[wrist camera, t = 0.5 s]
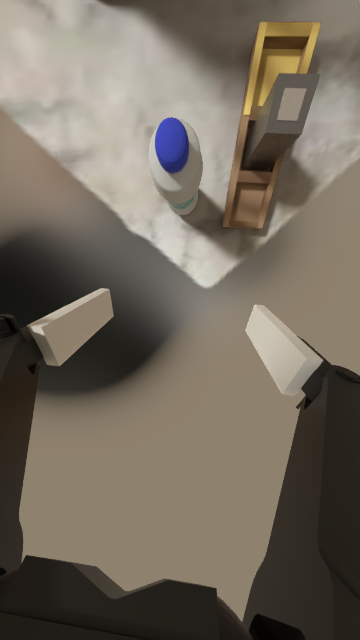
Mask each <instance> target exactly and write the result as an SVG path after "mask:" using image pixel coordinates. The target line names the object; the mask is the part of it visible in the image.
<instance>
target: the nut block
mask: <svg viewBox="0 0 360 640" xmlns="http://www.w3.org/2000/svg"><path fill="white" fill-rule="evenodd" d="M319 77H320V74H298V73H279V74H278V76H277V78H276V80H275V82H274V84H273V86H272V88H271V90H270V92H269V94H268V96H267V98H266V100H265V102H264V104H263V106H262V108H261V110H260V112H259V114H258V116H257V118H256V120H255V122H254V124H253V126H252V128H251V130H250V132H249V135H248V140H247V145H246V151H245V156H244V161H243V166H242V169H251V170H267V169H268V168H269V167H270V166H271V165H272V164H273V163H274V162H275V161H276V160H277V159H278V158H279V157H280V156H281V155H282V154H283V153H284V152H285V151H286V150H287V148H288V147H289V146H290V145H291V144H292V143H293V142H294V141H295V140H296V139H297V138H298V137H299V136H300V135H301V134H302V131H303V128H304V125H305V121H306V118H307V115H308V112H309V109H310V105H311V102H312V99H313V96H314V93H315V89H316V86H317V83H318V80H319Z"/></svg>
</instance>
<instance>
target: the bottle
mask: <svg viewBox="0 0 360 640" xmlns="http://www.w3.org/2000/svg"><path fill="white" fill-rule="evenodd" d="M148 158H149V166H150V170H151V174H152V178H153V182H154V185H155V187H156V189H157V191H158V192H159V193H160V195H161V196H162V197H163V198H164V199H165V200H167V202H168V204H169V206H170V208H171V209H172V211H173V212H175V213H176V214H178V215H187V214H189V213H190V212H191V211H192V210H193V209H194V208H195V206H196V204H197V201H198V187H199V184H200V181H201V177H202V169H203V163H202V156H201V152H200V146H199V141H198V138H197V136H196V133H195V132H194V130H193V128H192V127H191V126H190V125H189V124H188V123H187V122H185V121H184V120H182V119H178V118H172V117H171V118H167V119H165V120H163V121H162V122H161V123H160V125H159V126H158V127H157V128H156V130H155V132H154V133H153V136H152V138H151V141H150V145H149V154H148Z"/></svg>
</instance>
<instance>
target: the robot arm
mask: <svg viewBox="0 0 360 640" xmlns="http://www.w3.org/2000/svg"><path fill="white" fill-rule="evenodd" d="M112 317H113V309H112V303H111V297H110V291H109V289H103V288H101V289H99V290H97V291H95V292H93V293H91V294H89V295H87V296H85V297H83V298H81V299H79V300H77V301H75V302H73V303H71V304H69V305H67V306H65V307H63V308H61V309H59V310H57V311H55V312H53V313H51V314H49V315H47V316H45V317H43V318H41V319H39V320H37V321H35V322H33V323H31V324H29V325H27V327H25V328H23V329H21V330H20V329H19V327H18V325H17V323H16V321H15V319H14V318H13V316H12V315H6V314H4V315H0V640H360V376H359V375H358V374H356V373H354V372H353V371H350V370H349V369H346V368H344V367H341V366H336V365H331V364H330V363H329V362H328V361H327V360H326V359H325V358H323V357H322V356H321V355H320V354H319V353H318V352H317V351H315V349H313V348H312V347H311V346H310V345H309V344H308V343H307V342H306V341H304V340H303V339H301V338H300V337H298V336H296V335H295V334H294V333H293V332H292V331H291V330H290V329H289V328H288V327H286V326H285V325H284V324H283V323H282V322H281V321H280V320H279V319H278V318H277V317H276V316H274V315H273V314H272V313H271V312H270V311H269V310H268V309H267V308H266V307H265V306H263V305H254V308H253V311H252V313H251V316H250V319H249V322H248V324H247V327H246V330H245V331H246V333H247V334H248V336H249V338H250V340H251V341H252V343H253V345H254V347H255V348H256V350H257V352H258V354H259V355H260V357H261V359H262V360H263V362H264V364H265V366H266V367H267V369H268V371H269V373H270V374H271V376H272V378H273V379H274V381H275V383H276V385H277V386H278V388H279V390H280V392H281V393H282V394H284V395H292V396H296V395H297V394H298V392H299V391H300V390H301V389H302V390H303V392H304V393H305V394H306V396H305V397H304V398H303V399H302V401H301V402H300V403H299V404H298V405H297V407H296V408H297V409H299V407H301V408H300V412H299V416H298V421H297V425H296V429H295V434H294V438H293V442H292V446H291V451H290V455H289V459H288V464H287V468H286V472H285V476H284V480H283V485H282V489H281V493H280V497H279V502H278V506H277V510H276V515H275V519H274V523H273V527H272V532H271V536H270V540H269V545H268V549H267V552H266V556H265V558H264V561H263V562H262V564H261V566H260V567H259V569H258V571H257V573H256V575H255V578H254V580H253V584H252V587H251V590H250V594H249V598H248V603H247V606H246V610H245V614H244V618H243V622H241V621H240V619H239V618H238V617H237V615H236V614H235V613H234V612H233V611H232V610H231V609H230V608H229V606H227V605H226V603H225V602H224V601H223V600H221V599H220V598H219V597H218V596H217V591H216V588H212V587H207V586H203V585H199V584H193V583H187V582H181V581H176V580H170V579H162V580H159V581H157V582H154V583H151V584H148V585H146V586H143V587H140V588H138V589H135V590H132V591H124V590H123V589H122V588H121V587H119V586H118V585H117V584H116V583H115V582H114V581H112V580H111V579H110V578H109V577H108V576H107V575H106V574H104V573H103V572H102V571H101V570H100V569H99V568H97V567H95V566H90V565H84V564H78V563H72V562H66V561H61V560H54V559H48V558H40V557H34V556H28V555H26V556H25V558H24V560H23V562H22V564H21V561H22V552H23V532H22V528H21V525H20V521H19V507H20V500H21V493H22V486H23V479H24V473H25V466H26V459H27V452H28V445H29V438H30V431H31V424H32V418H33V410H34V404H35V397H36V391H37V383H38V377H39V370H40V365H39V363H38V361H39V360H40V359H42V358H44V360H45V361H46V363H47V365H54V366H60V365H61V364H62V363H63V362H65V360H67V359H68V358H69V357H70V356H71V355H72V354H73V353H74V352H75V351H76V350H77V349H78V348H80V347H81V346H82V345H83V344H84V343H85V342H86V341H87V340H88V339H89V338H90V337H91V336H93V335H94V333H96V332H97V331H98V330H99V329H100V328H101V327H102V326H103V325H104V324H105V323H106V322H107V321H109V320H110V319H111V318H112Z"/></svg>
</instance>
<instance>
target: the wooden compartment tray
mask: <svg viewBox="0 0 360 640" xmlns="http://www.w3.org/2000/svg"><path fill="white" fill-rule="evenodd" d="M320 26H321V22H260V23H259V26H258V30H257V33H256V36H255V40H254V43H253V47H252V53H251V59H250V65H249V70H248V76H247V82H246V88H245V94H244V100H243V106H242V111H241V117H240V123H239V129H238V135H237V141H236V146H235V152H234V158H233V164H232V170H231V176H230V182H229V187H228V193H227V199H226V205H225V211H224V217H223V223H222V227H230V228H245V229H261V228H263V224H264V221H265V217H266V214H267V210H268V207H269V203H270V200H271V196H272V193H273V189H274V186H275V182H276V179H277V175H278V172H279V168H280V165H281V161H282V158H283V154H284V153H283V154H282V155H281V156H280V157H279V158H278V159H277V160H276V161H275V162H274V163H273V164H272V165H271V166H270V167H269V168H268V169H267V170H251V169H242V166H243V161H244V156H245V151H246V145H247V140H248V135H249V132H250V130H251V128H252V126H253V124H254V122H255V120H256V118H257V116H258V114H259V112H260V110H261V108H262V106H263V104H264V102H265V100H266V98H267V96H268V94H269V92H270V90H271V88H272V86H273V84H274V82H275V80H276V78H277V76H278V74H279V73H298V74H307V71H308V68H309V64H310V61H311V57H312V54H313V50H314V47H315V43H316V40H317V36H318V33H319V29H320Z"/></svg>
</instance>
